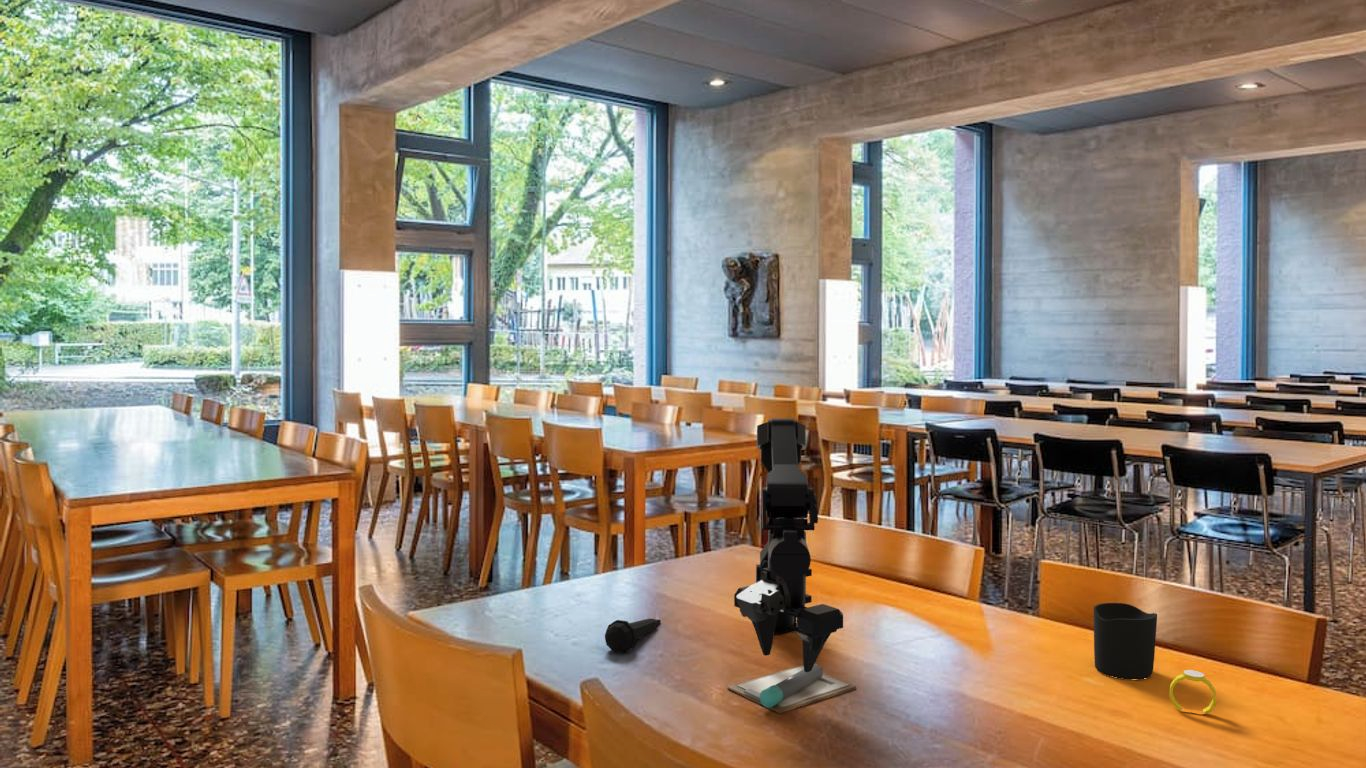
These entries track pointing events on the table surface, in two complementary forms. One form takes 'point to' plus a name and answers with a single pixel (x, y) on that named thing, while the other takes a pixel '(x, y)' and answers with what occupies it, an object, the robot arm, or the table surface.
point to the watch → (1194, 677)
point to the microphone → (627, 633)
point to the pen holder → (1124, 640)
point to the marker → (789, 686)
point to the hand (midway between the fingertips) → (786, 663)
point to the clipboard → (807, 695)
